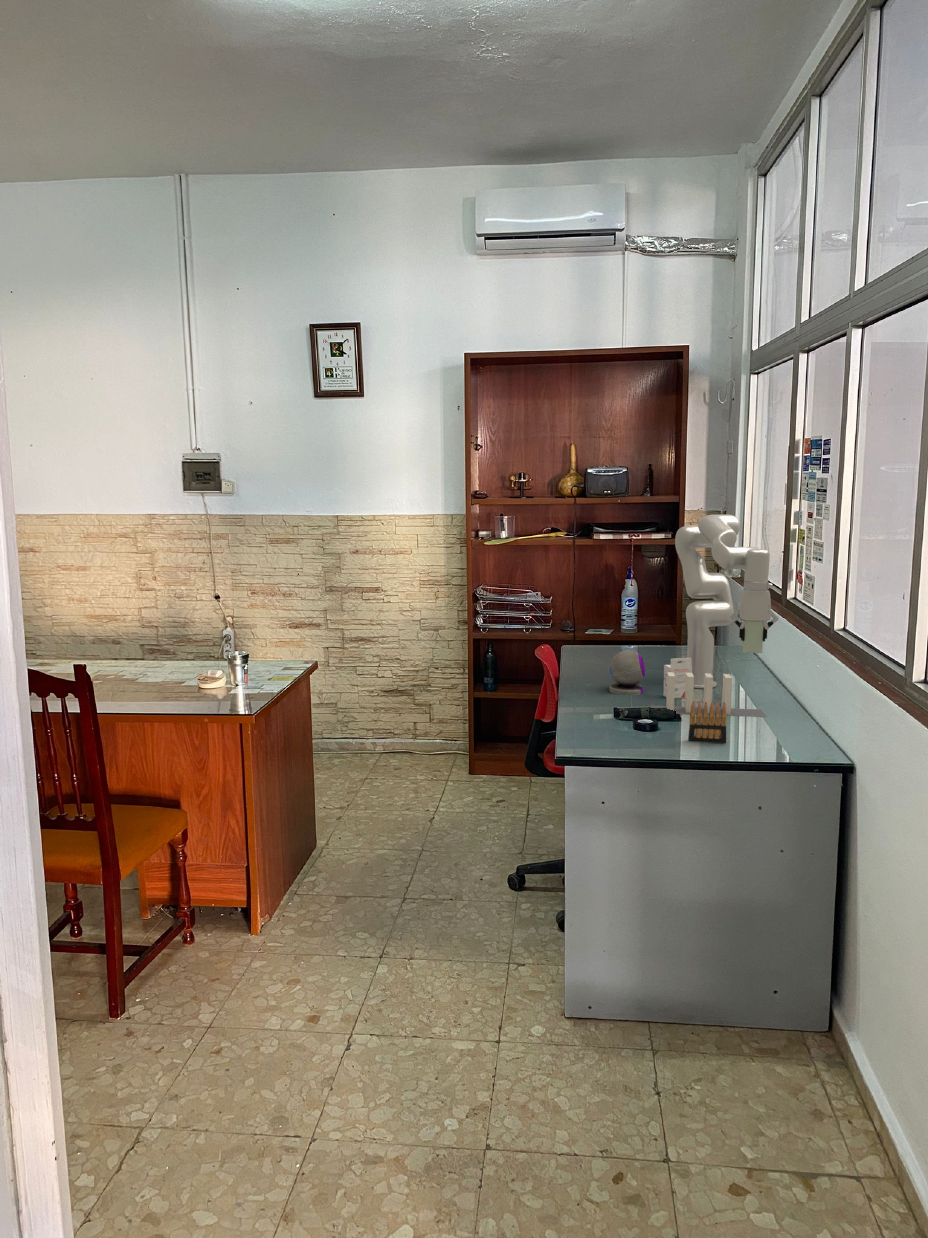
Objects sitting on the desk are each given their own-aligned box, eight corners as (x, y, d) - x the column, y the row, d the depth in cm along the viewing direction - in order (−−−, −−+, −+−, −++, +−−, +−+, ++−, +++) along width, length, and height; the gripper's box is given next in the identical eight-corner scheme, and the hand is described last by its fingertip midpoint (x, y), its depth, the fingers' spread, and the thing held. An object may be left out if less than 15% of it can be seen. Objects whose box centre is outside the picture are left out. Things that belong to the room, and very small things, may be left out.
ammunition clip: (725, 741, 266) (727, 701, 264) (726, 743, 264) (728, 703, 262) (688, 739, 268) (689, 700, 266) (688, 741, 266) (690, 701, 264)
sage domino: (742, 651, 304) (744, 616, 302) (761, 651, 303) (763, 616, 301) (743, 652, 302) (745, 616, 300) (762, 653, 301) (764, 617, 299)
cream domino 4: (724, 714, 295) (725, 677, 293) (721, 709, 301) (723, 673, 299) (730, 714, 295) (732, 678, 293) (727, 709, 300) (729, 674, 299)
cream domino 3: (705, 713, 296) (706, 677, 294) (703, 708, 302) (704, 673, 300) (711, 713, 295) (713, 677, 294) (709, 709, 301) (710, 673, 300)
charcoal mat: (650, 707, 306) (650, 705, 306) (761, 711, 301) (761, 709, 301) (652, 714, 296) (652, 712, 296) (766, 718, 291) (766, 717, 291)
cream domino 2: (686, 712, 297) (687, 676, 295) (684, 708, 302) (685, 672, 301) (692, 712, 296) (694, 676, 294) (690, 708, 302) (692, 673, 300)
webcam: (644, 696, 322) (646, 654, 320) (608, 694, 324) (609, 653, 322) (645, 688, 335) (646, 648, 332) (609, 686, 337) (611, 646, 335)
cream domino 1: (667, 711, 297) (668, 676, 296) (666, 707, 303) (667, 672, 301) (673, 712, 297) (675, 676, 295) (672, 707, 303) (673, 672, 301)
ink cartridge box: (684, 695, 323) (685, 655, 321) (691, 698, 318) (693, 657, 316) (662, 697, 321) (663, 656, 318) (669, 700, 316) (670, 658, 314)
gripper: (780, 585, 302) (777, 639, 305) (727, 584, 304) (724, 637, 307) (785, 588, 294) (782, 643, 297) (730, 587, 297) (727, 641, 300)
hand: (752, 640), depth 302 cm, fingers closed on sage domino, 5 cm apart
